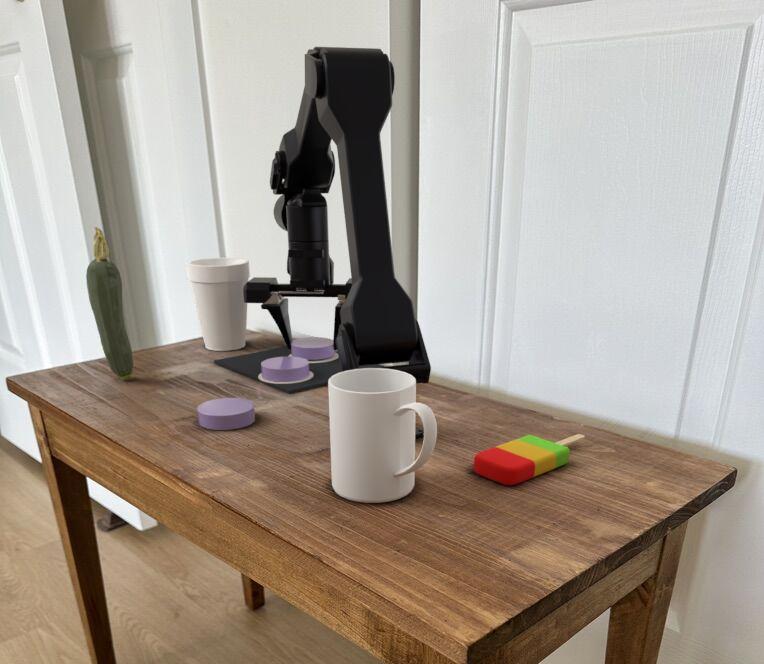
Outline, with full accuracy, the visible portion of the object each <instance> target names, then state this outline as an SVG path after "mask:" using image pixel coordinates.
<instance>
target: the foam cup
mask: <svg viewBox="0 0 764 664" xmlns="http://www.w3.org/2000/svg"><path fill="white" fill-rule="evenodd" d="M185 268H186V277H187V280H188V281H189V286H190V289H191V293H192V298H193V302H194V306H195V311H196V314H197V318H198V322H199V327H200V330H201V335H202V339H203V343H204V344H205V346H204V347H205V348H206V350H210V351H218V352H226V351H228V352H229V351H235V350H240V349H242V348H245V346H246V340H247V323H248V322H247V320H248V303H245V302H244V295H243V288H244V285H245V284H246V283H247V282H248V281H249V279H250V277H251V271H250V260H248V259H246V258H240V257H239V258H238V257H207V258H196V259H192V260H188V261H187V262H186V263H185Z"/></svg>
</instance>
